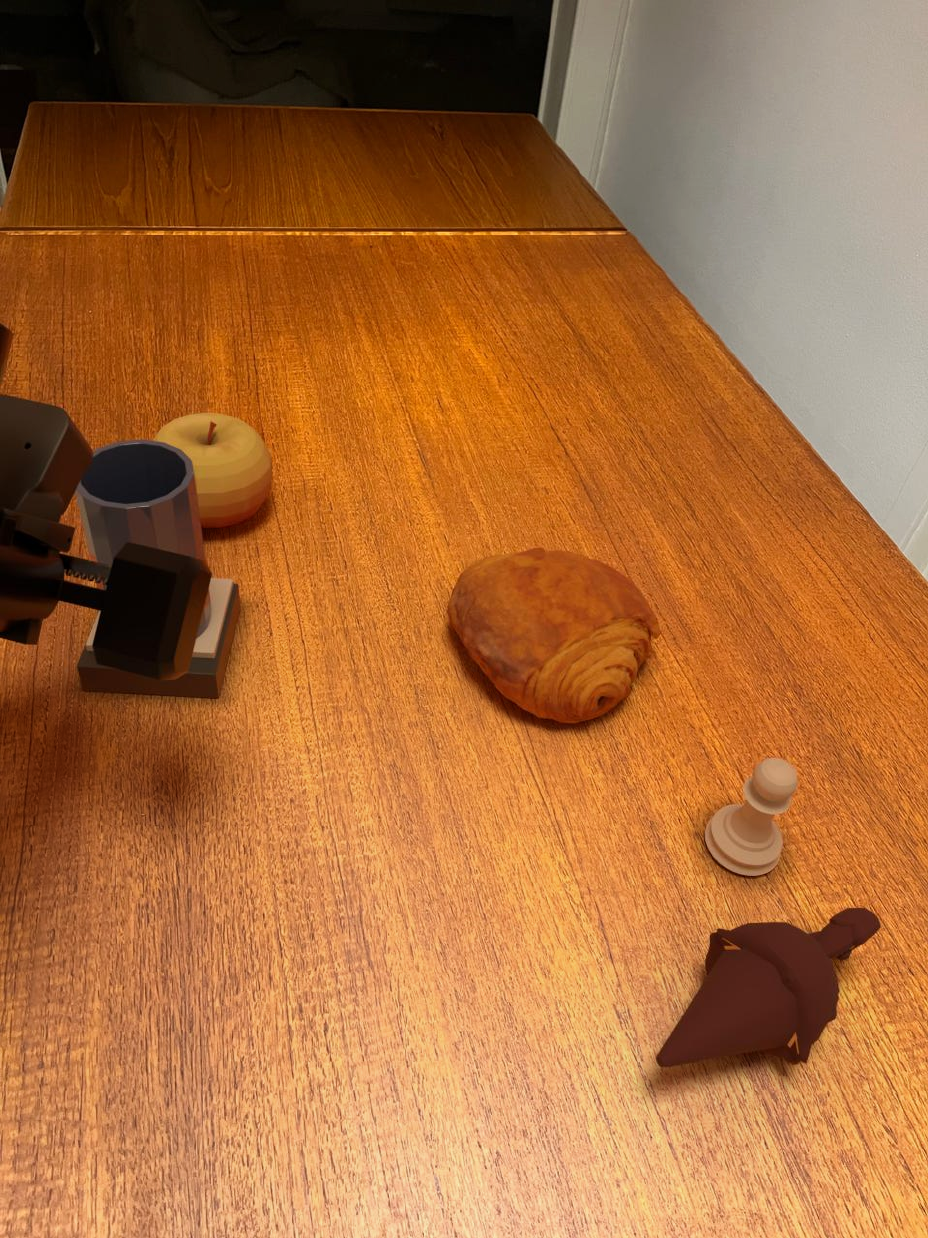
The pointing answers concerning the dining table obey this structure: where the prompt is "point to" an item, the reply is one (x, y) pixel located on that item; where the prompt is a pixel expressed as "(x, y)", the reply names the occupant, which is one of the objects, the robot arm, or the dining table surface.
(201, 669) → the scale
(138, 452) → the cup
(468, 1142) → the dining table surface
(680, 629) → the dining table surface
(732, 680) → the dining table surface
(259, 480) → the apple
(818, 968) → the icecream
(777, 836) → the chess piece
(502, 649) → the croissant
